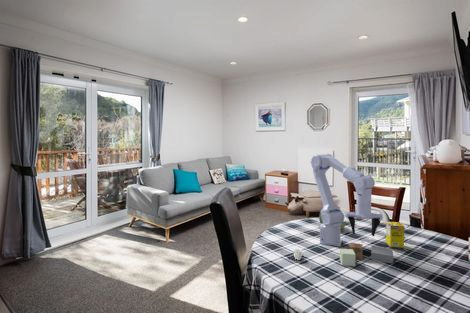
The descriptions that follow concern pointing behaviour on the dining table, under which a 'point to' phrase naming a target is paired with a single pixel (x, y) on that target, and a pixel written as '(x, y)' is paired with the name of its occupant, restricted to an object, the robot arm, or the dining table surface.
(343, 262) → the sage cube
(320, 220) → the vegetable
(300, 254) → the white lumpy piece
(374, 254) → the pedestal block
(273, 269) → the dining table surface
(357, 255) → the walnut cube
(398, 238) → the supplement box
